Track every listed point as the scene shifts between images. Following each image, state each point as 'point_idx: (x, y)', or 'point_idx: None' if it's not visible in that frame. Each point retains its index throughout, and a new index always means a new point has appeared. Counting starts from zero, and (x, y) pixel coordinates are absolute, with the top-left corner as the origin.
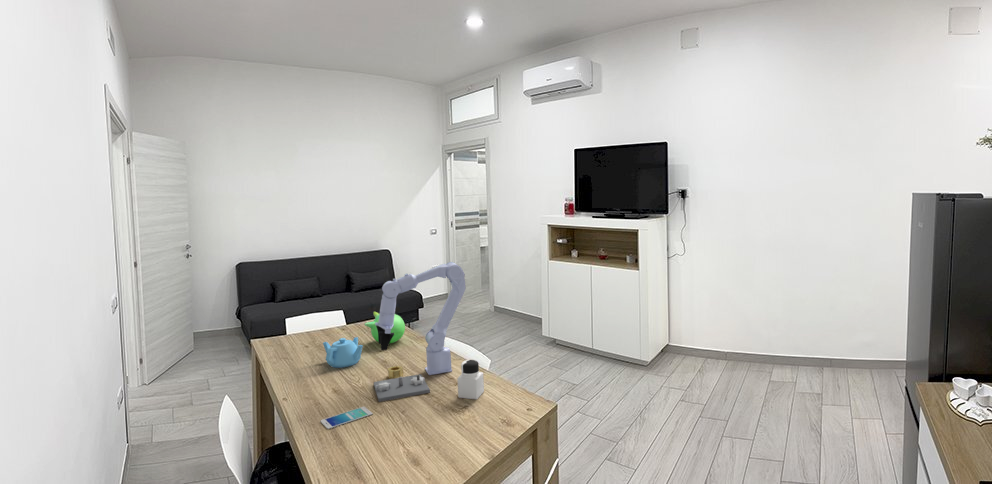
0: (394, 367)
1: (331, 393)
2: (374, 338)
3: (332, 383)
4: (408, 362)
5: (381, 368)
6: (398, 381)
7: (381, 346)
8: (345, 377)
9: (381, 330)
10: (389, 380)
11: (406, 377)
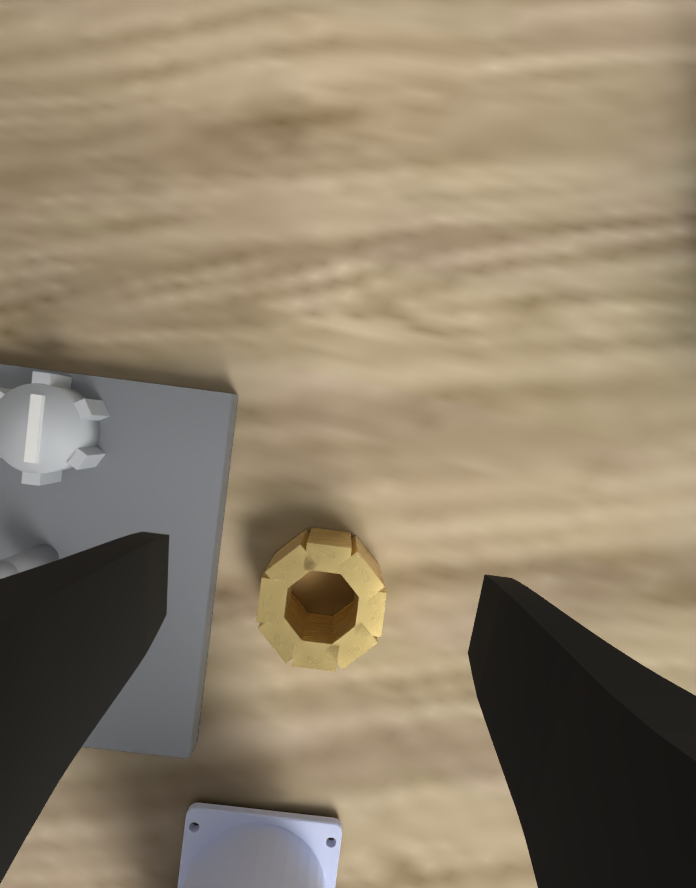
0: (357, 609)
1: (254, 87)
2: None
3: (449, 127)
4: None
5: (548, 529)
6: None
7: (94, 552)
8: (517, 239)
9: (645, 875)
10: (194, 509)
11: (182, 640)
